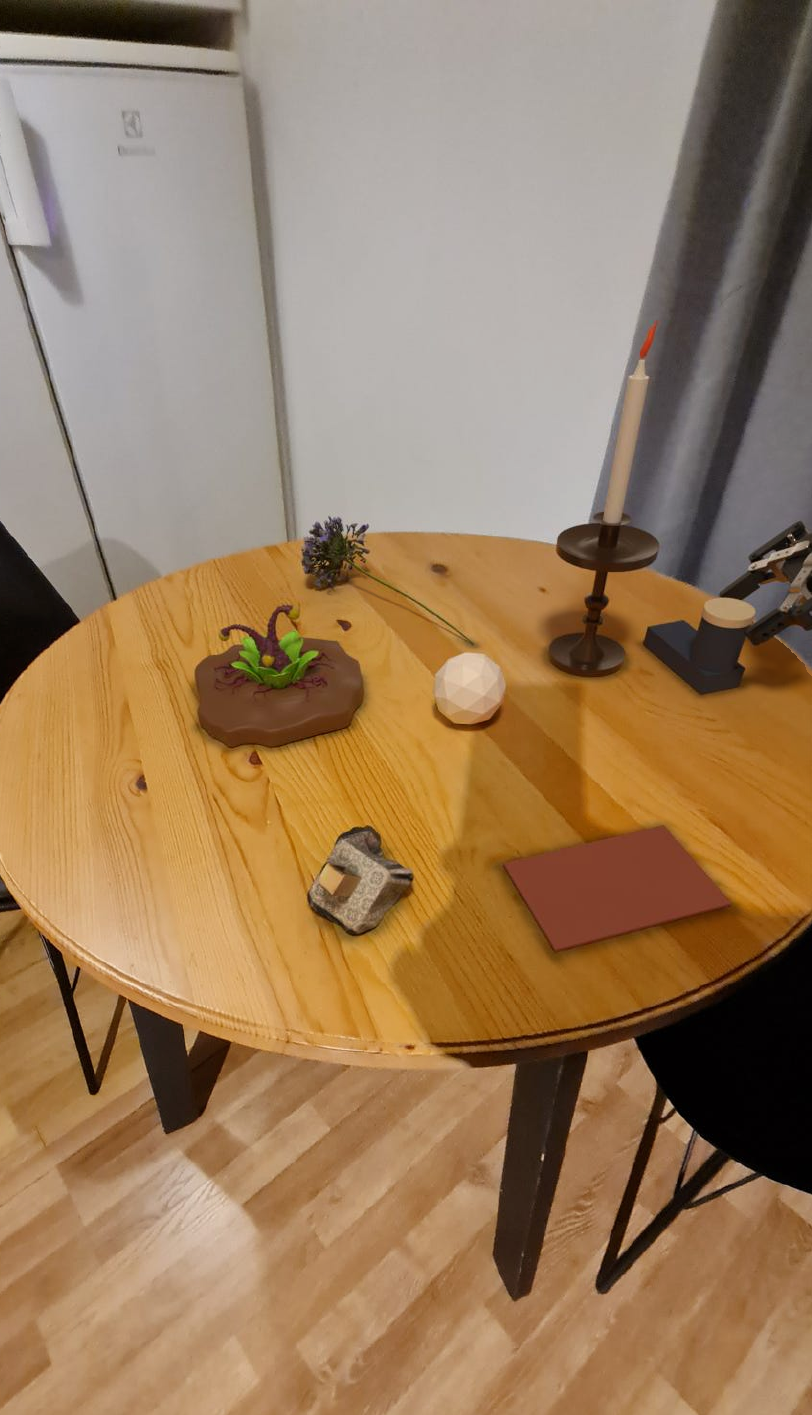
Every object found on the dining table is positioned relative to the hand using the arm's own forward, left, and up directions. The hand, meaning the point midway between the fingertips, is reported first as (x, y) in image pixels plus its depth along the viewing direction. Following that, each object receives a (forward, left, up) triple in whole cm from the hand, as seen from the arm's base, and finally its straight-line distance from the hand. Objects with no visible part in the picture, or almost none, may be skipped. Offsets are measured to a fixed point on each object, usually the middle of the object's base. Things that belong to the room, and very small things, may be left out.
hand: (735, 619), depth 82 cm
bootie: (+3, -3, -8) cm, 9 cm away
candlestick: (+15, -3, -8) cm, 17 cm away
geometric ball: (+28, +12, -8) cm, 31 cm away
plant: (+50, +11, -8) cm, 52 cm away
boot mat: (+13, +35, -8) cm, 38 cm away
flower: (+42, -14, -8) cm, 45 cm away
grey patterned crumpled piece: (+34, +39, -8) cm, 52 cm away
